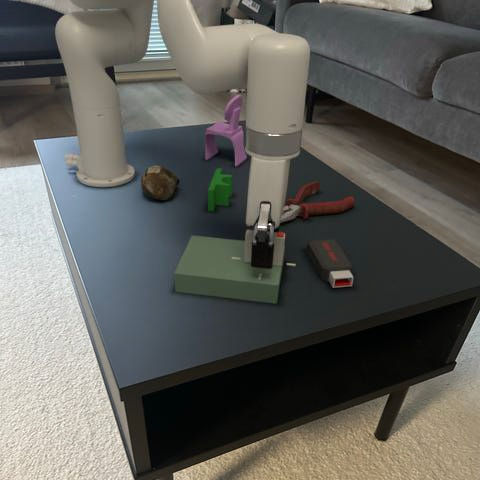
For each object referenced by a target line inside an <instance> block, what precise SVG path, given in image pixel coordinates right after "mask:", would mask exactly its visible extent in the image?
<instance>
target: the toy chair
mask: <svg viewBox="0 0 480 480" xmlns="http://www.w3.org/2000/svg"><path fill="white" fill-rule="evenodd" d="M242 105H243V96H242V95H241V94H237V95H235V96H234V97H233V98H231V100H229V102H228V103H227V104H226V106H225V109H224V120H225V121H226V122H228V123H226V122H221V121H217V122H216V123H214V124H213V125H212V126H209V127H207V128H205V134H204V148H205V149H204V153H205V154H204V155H205V159H204V160H205V161H208V160H209V159H211V158H212V157H214V156H215V155H217V154H218V153H219V149H218V147H217V145H216V136H221V137H224V138H227V139H229V140H230V141H231V143H232V147H233V151H234V152H233V153H234V166H235V167H238V166H239V165H240V164H241V163H243V162H244V161H246V160H247V158H248V157H247V153H246V151H245V144H244V139H245V138H244V136H245V134H244V130H243V125H239V124H240V123H239V122H240V117H241V116H240V115H241V109H242Z"/></svg>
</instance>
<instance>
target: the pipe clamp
mask: <svg viewBox="0 0 480 480" xmlns="http://www.w3.org/2000/svg"><path fill="white" fill-rule="evenodd" d="M232 196H233V175H232V174H225V173H224V174H223V168H221V167H220V168H219V167H217V168H216V169H215V171H214V174H213V176H212V179H211V182H210V184H209V186H208V189H207V211H208V212H214V211H215V208H216V206H223V207H229V206H230V198H231V197H232Z"/></svg>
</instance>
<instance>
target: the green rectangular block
mask: <svg viewBox="0 0 480 480" xmlns="http://www.w3.org/2000/svg"><path fill="white" fill-rule="evenodd" d="M188 240H189V241H188V243H187V245H186V247H185V249H184V251H183V253H182V255H181V258H180V260H179V262H178V263H177V266H176V268H175V270H174V273H173V278H174V292H175V293H181V294H189V295H199V296H207V297H217V298H224V299H233V300H241V301H248V302H249V301H250V302H258V303H266V304H275V305H277V304H278V299H279V294H280V286H281V282H282V281H281V280H282V275H283V268H284V260H285V251H286V245H285V244H284V253H283V262H282V266H275V265H273V266H272V268H271V269H265V268H256V267H252V266H251V263H249V262H244V254H245V240H239V239H229V238H221V237H213V236H211V237H210V236H201V235H193V234H192V235H191V237H190V238H189V239H188ZM296 265H297V264H296V263H288V262H287V263H286V266H291V267H296Z"/></svg>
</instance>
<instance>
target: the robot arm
mask: <svg viewBox="0 0 480 480" xmlns="http://www.w3.org/2000/svg"><path fill="white" fill-rule="evenodd" d="M69 1H70V2H71V3H72V4H73V5H74V6H75V7H78V8H80V9H83V10H78V11H72V12H68V13H66V14H64V15H62V16H61V17H60V18H59V19H58V20H57V22H56V25H55V28H54V35H55V41H56V44H57V48H58V51H59V54H60V58H61V61H62V63H63V67H64V70H65V75H66V78H67V83H68V88H69V93H70V100H71V104H72V111H73V116H74V123H75V128H76V134H77V141H78V147H79V153H78V154H75V153H65V155H64V160H65V164H66V166H67V167H76V168H77V171H76V173H75V174H76V179H77V180H78V182H80V183H81V184H82V185H85V186H89V187H94V188H111V187H112V188H113V187H118V186H122V185H125V184H127V183H129V182H131V181H132V180H133V179H134V178H135V176H136V170H135V168H134V167H133V166H132V165H131V164H128V162H127V154H126V153H127V152H126V143H125V134H124V124H123V115H122V106H121V98H120V92H119V89H118V86H117V84H116V82H114V81H113V79H112V78H111V77H110V76H109V75H108V73H107V71H106V68H110V67H115V66H122V65H123V66H124V65H130V64H135V63H138V62H140V61H142V60H143V59H144V58H145V56H146V54H147V52H148V48H149V42H150V35H151V28H152V20H153V11H154V5H155V0H69ZM156 5H157V6H156V13H157V23H158V27H159V32H160V36H161V39H162V42H163V43H164V46H165V48H166V50H167V53H168V55H169V57H170V59H171V62H172V64H173V66H174V68H175V70H176V72H177V74H178V76H179V78H180V79H181V80H182V82H183V83H184V85H185V86H187V87H188V88H189V89H190V90H191V91H192V92H195V93H198V94H201V95H209V94H216V93H221V92H226V91H231V90H238V89H239V90H241V89H246V106H245V107H246V111H245V134H244V136H245V138H244V150H245V154H246V155H248V156H251V159H250V166H249V175H248V185H247V186H248V187H247V202H246V213H245V225H246V226H247V227H250V226H252V227H254V228H253V230H254V237H253V241H252V251H251V266H252V267H256V268H265V269H271V268H272V266H273V255H274V244H273V236H274V232H276V233H278V232H280V224H281V223H280V220H281V216H282V212H283V208H284V207H285V204H286V197H287V190H288V183H289V175H290V166H291V160H292V159H294V158H297V157H298V156H299V155H300V154H301V145H302V135H303V125H304V117H305V116H304V115H305V108H306V107H305V106H306V96H307V88H308V80H309V79H308V78H309V68H310V60H311V58H310V57H311V47H310V44H309V42H308V41H307V40H306V38H304V37H302V36H299V35H296V34H291V33H281V32H278V31H276V30H274V29H272V28H270V27H269V26H266V25H264V24H261V23H256V22H255V23H253V22H252V23H238V24H223V25H214V26H213V25H212V26H205V27H204V26H203V25H202V23H201V22H200V19H199V17H198V15H197V13H196V10H195V8H194V6H193V4H192V0H156ZM267 232H270V235H269V234H267Z"/></svg>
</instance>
